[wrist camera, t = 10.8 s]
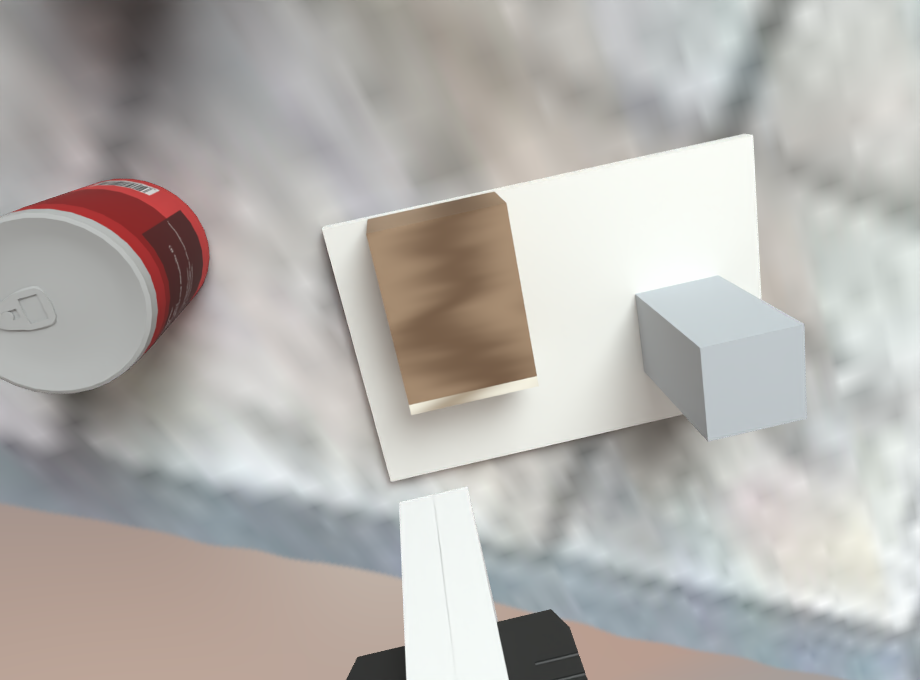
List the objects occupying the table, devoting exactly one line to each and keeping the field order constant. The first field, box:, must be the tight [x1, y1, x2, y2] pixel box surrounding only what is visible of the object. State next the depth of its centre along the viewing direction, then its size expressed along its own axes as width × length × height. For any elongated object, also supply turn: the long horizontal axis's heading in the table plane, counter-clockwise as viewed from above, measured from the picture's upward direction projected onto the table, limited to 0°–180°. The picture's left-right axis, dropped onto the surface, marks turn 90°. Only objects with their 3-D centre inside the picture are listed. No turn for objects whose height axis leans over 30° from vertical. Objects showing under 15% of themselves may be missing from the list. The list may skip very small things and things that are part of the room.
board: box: [322, 134, 761, 482], centre depth 42 cm, size 24×16×1 cm, turn 101°
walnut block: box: [366, 192, 539, 415], centre depth 38 cm, size 7×4×10 cm
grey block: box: [635, 275, 807, 441], centre depth 38 cm, size 5×5×9 cm
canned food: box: [0, 179, 209, 394], centre depth 33 cm, size 8×8×11 cm
